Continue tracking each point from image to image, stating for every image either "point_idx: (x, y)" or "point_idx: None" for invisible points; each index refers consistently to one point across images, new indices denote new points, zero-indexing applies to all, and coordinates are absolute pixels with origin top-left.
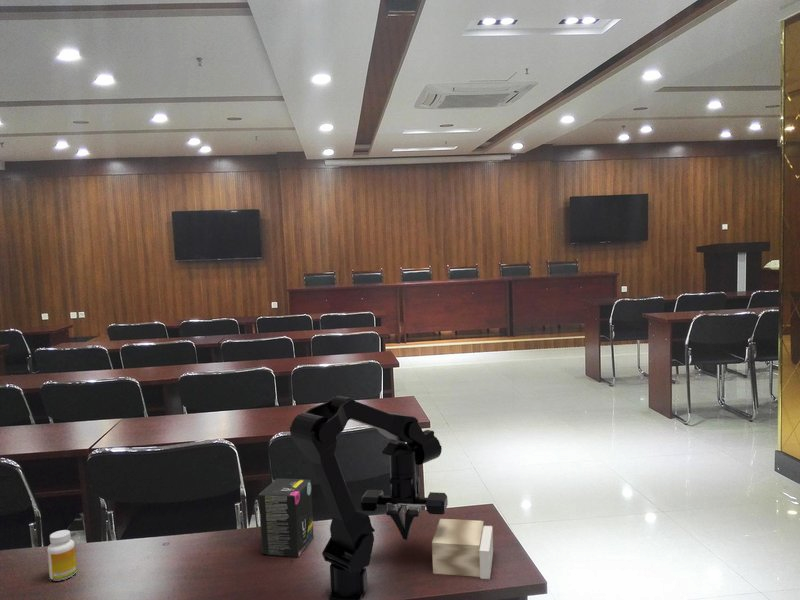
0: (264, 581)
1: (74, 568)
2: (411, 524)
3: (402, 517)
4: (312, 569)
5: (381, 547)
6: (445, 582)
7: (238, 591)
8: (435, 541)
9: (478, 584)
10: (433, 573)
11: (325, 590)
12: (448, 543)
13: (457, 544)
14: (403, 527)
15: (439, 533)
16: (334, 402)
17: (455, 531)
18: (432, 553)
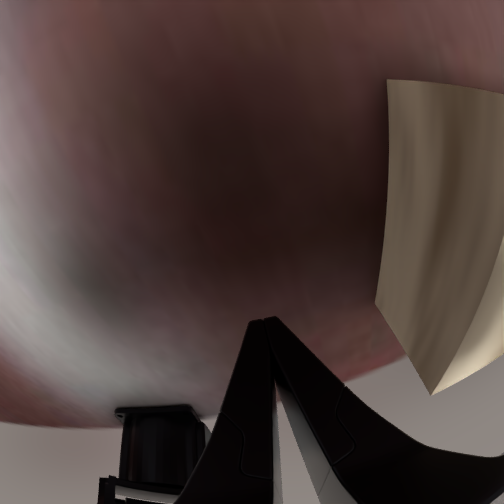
0: (4, 403)
1: None
2: (337, 382)
3: (279, 493)
4: (16, 369)
5: (64, 178)
6: None
7: (10, 420)
8: (446, 383)
9: None
10: (376, 303)
11: (113, 422)
12: (482, 366)
13: (501, 353)
14: (277, 428)
15: (484, 321)
16: None
17: None
18: (410, 358)
